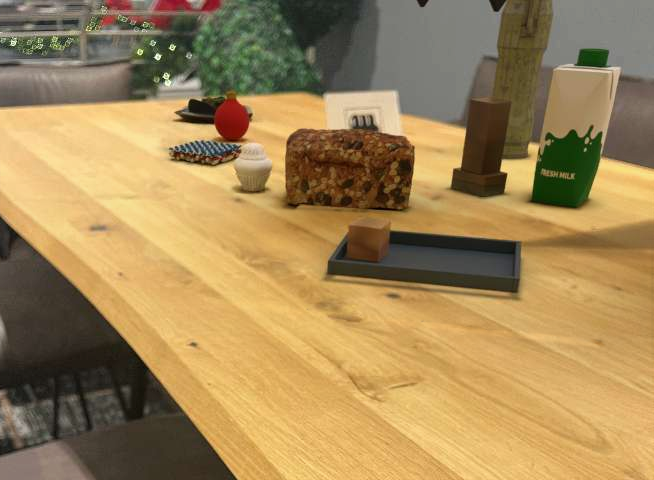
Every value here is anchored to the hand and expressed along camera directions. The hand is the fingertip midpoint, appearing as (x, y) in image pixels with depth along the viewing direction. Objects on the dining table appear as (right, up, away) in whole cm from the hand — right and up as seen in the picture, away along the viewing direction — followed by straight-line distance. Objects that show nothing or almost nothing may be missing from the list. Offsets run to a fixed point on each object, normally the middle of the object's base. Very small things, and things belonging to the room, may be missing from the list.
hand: (463, 1), depth 103 cm
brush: (+7, -18, +19) cm, 27 cm away
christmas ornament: (-35, +6, +52) cm, 63 cm away
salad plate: (-40, +21, +74) cm, 86 cm away
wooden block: (-14, -38, -10) cm, 42 cm away
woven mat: (-38, -4, +38) cm, 54 cm away
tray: (-7, -40, -12) cm, 42 cm away
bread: (-15, -22, +13) cm, 30 cm away
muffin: (-29, -18, +19) cm, 39 cm away
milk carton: (+19, -21, +15) cm, 32 cm away
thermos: (+18, -1, +43) cm, 47 cm away
